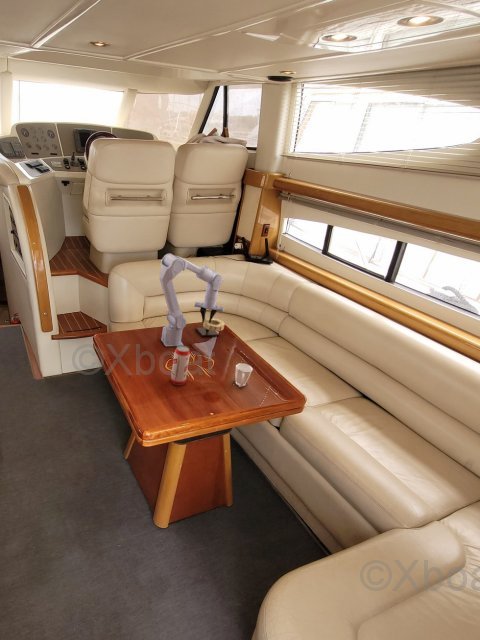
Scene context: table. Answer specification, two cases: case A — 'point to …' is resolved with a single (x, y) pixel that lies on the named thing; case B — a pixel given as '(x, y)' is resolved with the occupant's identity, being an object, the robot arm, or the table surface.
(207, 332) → the stand
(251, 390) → the table surface
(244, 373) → the cup
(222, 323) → the yellow gear ring
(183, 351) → the beer can
